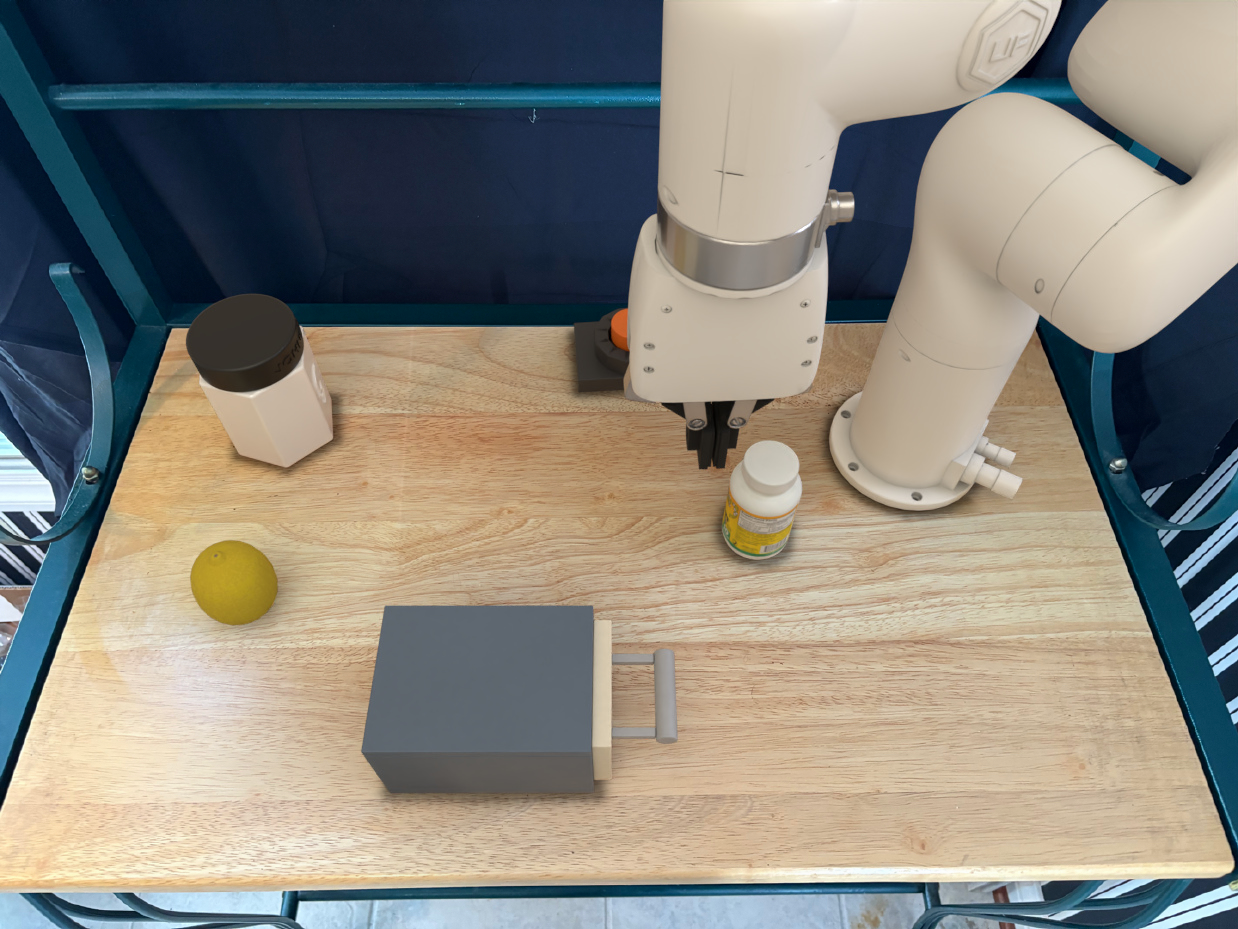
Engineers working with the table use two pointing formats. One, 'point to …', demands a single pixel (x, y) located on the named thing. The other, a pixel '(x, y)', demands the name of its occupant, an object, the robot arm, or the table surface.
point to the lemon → (233, 582)
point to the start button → (620, 329)
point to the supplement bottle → (762, 500)
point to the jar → (261, 378)
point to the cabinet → (482, 700)
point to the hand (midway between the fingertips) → (709, 450)
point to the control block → (599, 356)
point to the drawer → (602, 699)
